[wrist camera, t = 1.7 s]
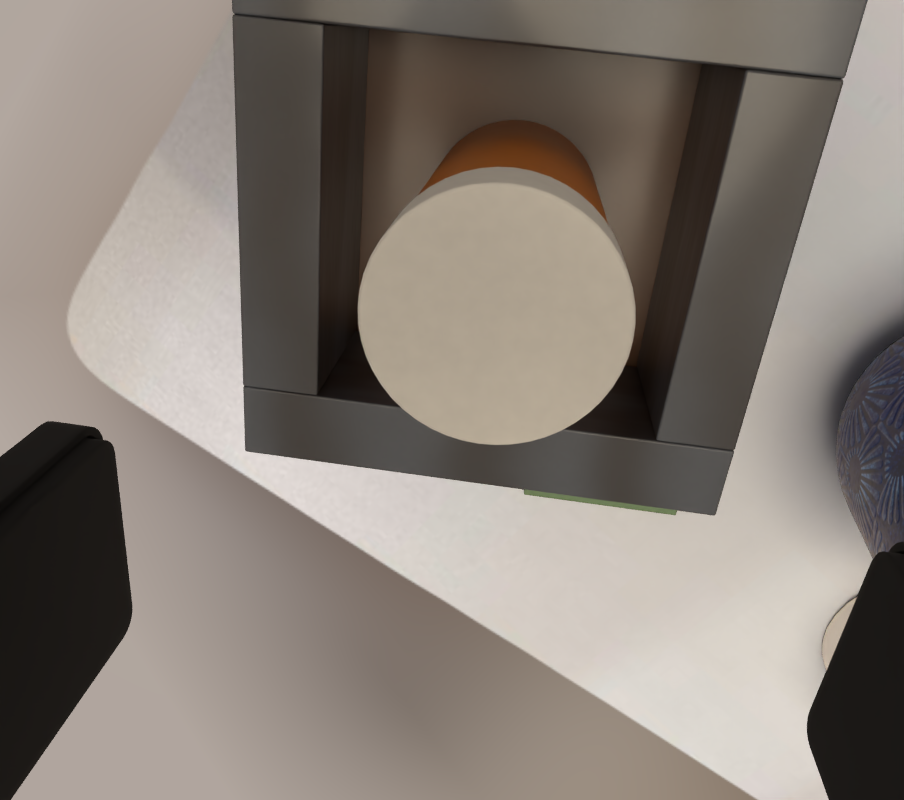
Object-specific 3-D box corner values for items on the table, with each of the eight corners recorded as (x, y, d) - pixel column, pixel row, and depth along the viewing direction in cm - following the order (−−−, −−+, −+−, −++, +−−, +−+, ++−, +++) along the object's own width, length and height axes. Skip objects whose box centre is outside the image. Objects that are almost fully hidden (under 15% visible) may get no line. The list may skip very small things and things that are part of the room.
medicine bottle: (421, 279, 30) (351, 428, 19) (435, 107, 27) (362, 166, 16) (584, 300, 29) (607, 462, 19) (615, 126, 26) (663, 201, 16)
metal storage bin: (371, 268, 46) (244, 451, 27) (386, -40, 39) (228, -97, 20) (641, 301, 45) (715, 516, 26) (707, -7, 38) (878, -33, 19)
